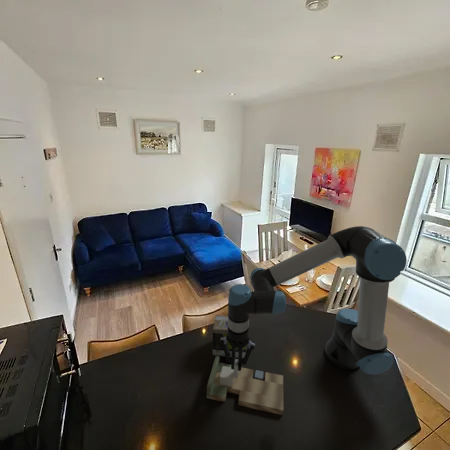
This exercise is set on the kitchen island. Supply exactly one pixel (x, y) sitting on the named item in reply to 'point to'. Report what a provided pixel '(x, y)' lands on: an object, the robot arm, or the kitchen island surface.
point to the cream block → (227, 376)
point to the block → (259, 375)
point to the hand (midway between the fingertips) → (236, 375)
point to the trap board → (248, 389)
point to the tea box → (219, 331)
